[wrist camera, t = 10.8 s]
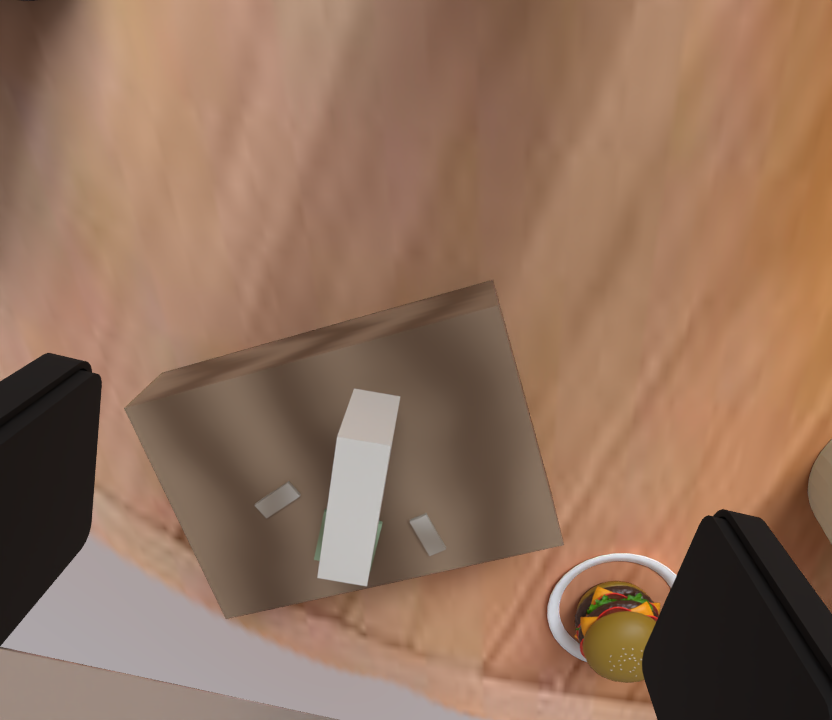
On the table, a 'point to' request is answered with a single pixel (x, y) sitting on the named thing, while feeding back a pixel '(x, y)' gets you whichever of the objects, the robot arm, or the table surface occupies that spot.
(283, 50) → the table surface
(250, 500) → the brown slab
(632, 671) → the hamburger
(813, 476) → the reusable coffee cup
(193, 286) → the table surface
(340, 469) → the peg
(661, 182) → the table surface
